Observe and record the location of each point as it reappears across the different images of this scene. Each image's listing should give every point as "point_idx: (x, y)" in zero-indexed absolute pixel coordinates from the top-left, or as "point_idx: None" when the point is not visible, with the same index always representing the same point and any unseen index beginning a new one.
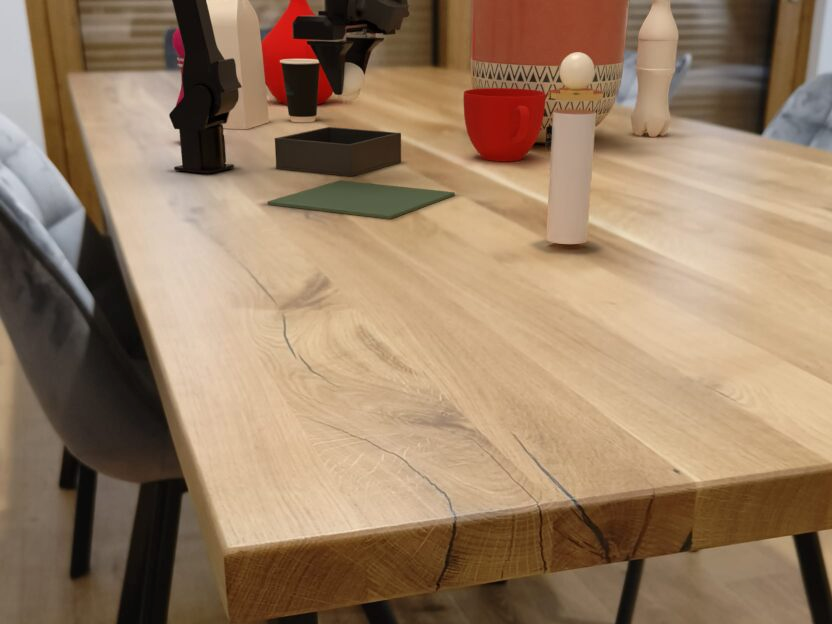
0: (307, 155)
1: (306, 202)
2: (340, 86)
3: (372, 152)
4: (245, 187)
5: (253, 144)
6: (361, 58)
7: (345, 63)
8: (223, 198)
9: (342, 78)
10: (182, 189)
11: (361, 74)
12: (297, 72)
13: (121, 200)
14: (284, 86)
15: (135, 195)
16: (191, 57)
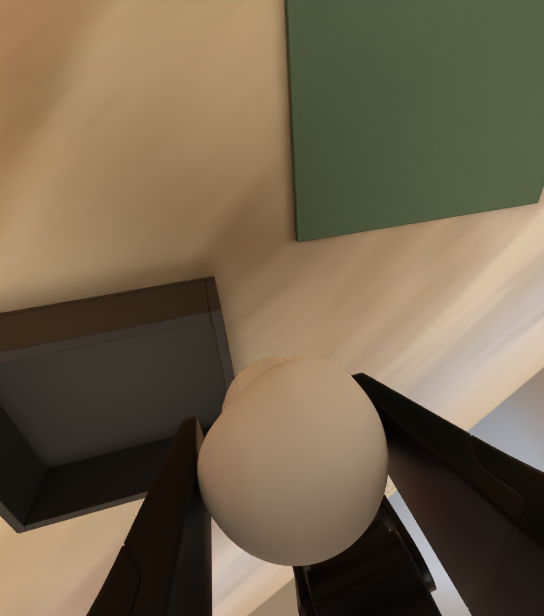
0: None
1: (538, 130)
2: (390, 389)
3: (99, 315)
4: (407, 334)
5: (81, 583)
6: (176, 611)
7: (354, 532)
8: (496, 294)
9: (408, 412)
10: (450, 377)
11: (297, 417)
12: None
13: (531, 368)
14: None
15: (500, 381)
16: None
